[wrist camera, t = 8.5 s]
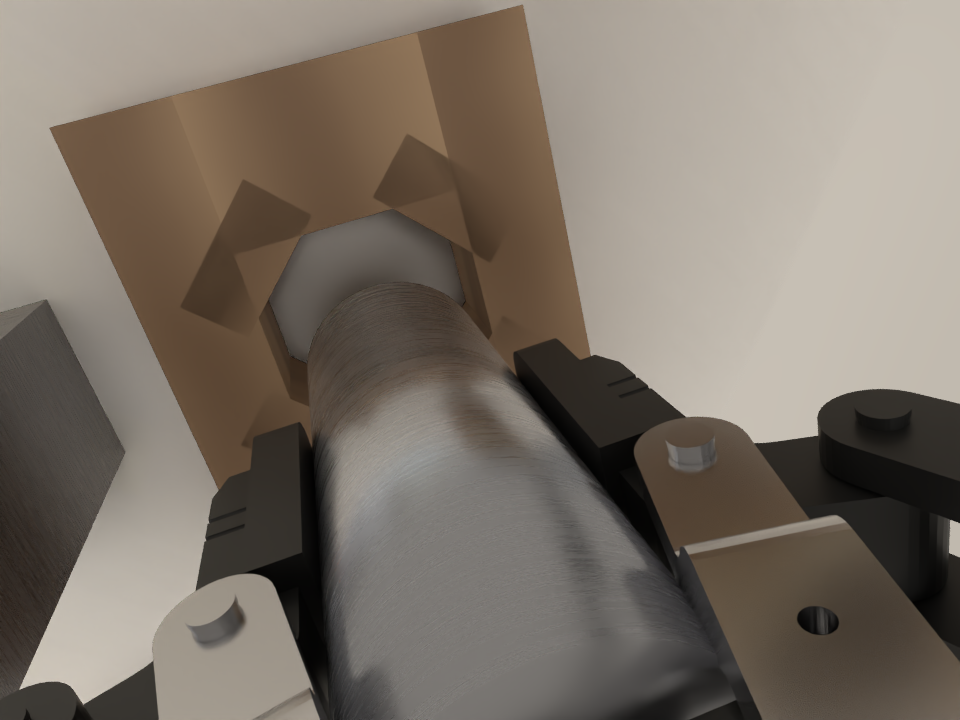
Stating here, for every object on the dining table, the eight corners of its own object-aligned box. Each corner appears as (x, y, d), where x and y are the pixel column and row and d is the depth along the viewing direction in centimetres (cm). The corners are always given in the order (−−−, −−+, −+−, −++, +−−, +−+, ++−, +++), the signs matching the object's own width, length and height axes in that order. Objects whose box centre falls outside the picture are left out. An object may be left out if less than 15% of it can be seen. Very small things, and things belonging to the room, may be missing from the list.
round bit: (459, 259, 14) (767, 570, 5) (500, 415, 16) (795, 874, 7) (281, 313, 14) (265, 766, 5) (340, 469, 15) (417, 1047, 6)
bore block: (487, 16, 18) (522, 4, 15) (573, 419, 23) (611, 464, 20) (88, 121, 17) (49, 127, 14) (268, 525, 22) (265, 588, 19)
